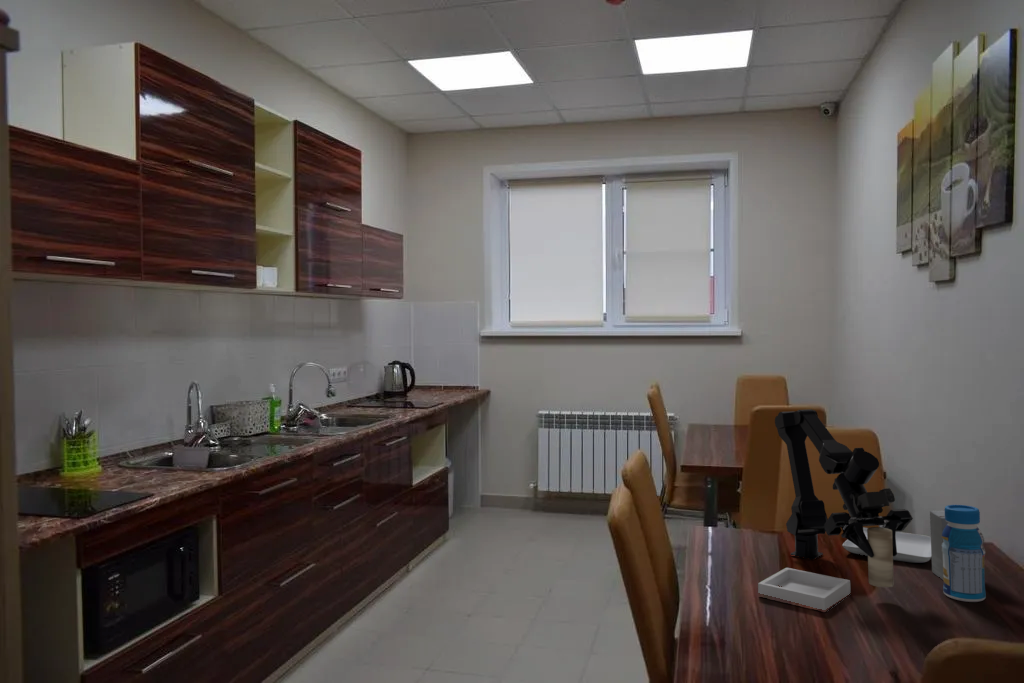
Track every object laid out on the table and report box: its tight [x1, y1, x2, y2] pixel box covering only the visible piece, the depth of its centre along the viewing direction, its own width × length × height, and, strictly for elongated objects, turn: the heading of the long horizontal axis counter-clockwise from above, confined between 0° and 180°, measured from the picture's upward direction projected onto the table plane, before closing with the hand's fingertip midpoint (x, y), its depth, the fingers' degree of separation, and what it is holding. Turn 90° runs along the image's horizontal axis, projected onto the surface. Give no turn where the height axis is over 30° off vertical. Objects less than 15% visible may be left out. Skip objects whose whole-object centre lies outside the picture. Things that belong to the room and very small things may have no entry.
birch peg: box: [867, 526, 895, 588], centre depth 164 cm, size 5×5×12 cm
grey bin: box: [757, 567, 851, 610], centre depth 168 cm, size 15×15×3 cm
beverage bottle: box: [941, 504, 987, 603], centre depth 164 cm, size 8×8×20 cm
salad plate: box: [842, 527, 932, 564], centre depth 199 cm, size 21×21×3 cm
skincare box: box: [929, 510, 978, 581], centre depth 177 cm, size 8×7×16 cm
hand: (884, 555), depth 162 cm, fingers closed on birch peg, 5 cm apart
